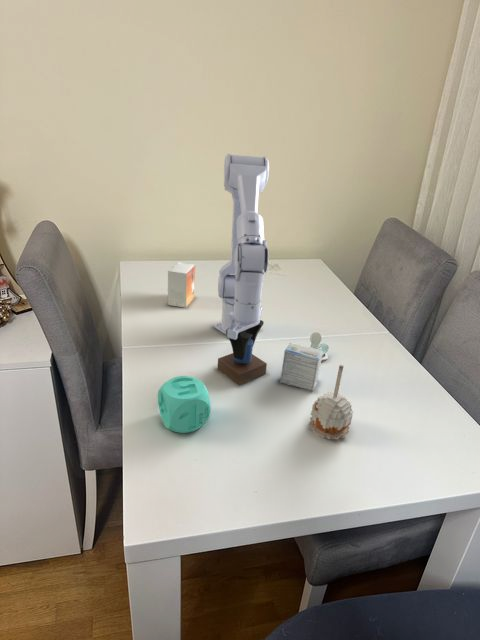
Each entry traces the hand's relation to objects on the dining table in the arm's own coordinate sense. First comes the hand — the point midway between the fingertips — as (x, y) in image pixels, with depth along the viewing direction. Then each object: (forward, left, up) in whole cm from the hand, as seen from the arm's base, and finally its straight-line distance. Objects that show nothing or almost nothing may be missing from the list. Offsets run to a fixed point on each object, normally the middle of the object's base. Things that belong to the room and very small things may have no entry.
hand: (243, 353), depth 111 cm
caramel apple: (-1, +26, -5) cm, 27 cm away
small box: (-10, -39, -5) cm, 41 cm away
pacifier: (-20, +5, -5) cm, 21 cm away
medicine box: (-8, +11, -5) cm, 15 cm away
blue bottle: (0, 0, -1) cm, 1 cm away
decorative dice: (+21, +7, -5) cm, 23 cm away
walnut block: (0, 0, -5) cm, 5 cm away
